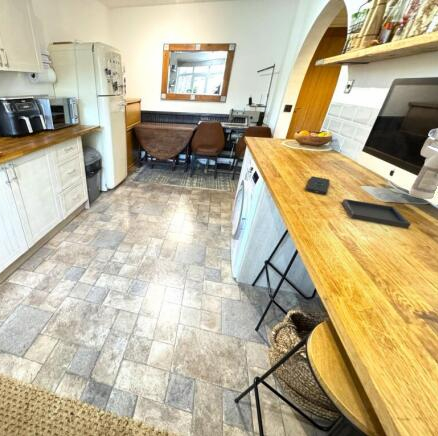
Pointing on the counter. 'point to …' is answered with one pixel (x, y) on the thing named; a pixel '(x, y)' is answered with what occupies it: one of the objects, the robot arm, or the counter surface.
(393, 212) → the tray
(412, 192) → the bath foam
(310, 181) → the smart home device
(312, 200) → the counter surface
